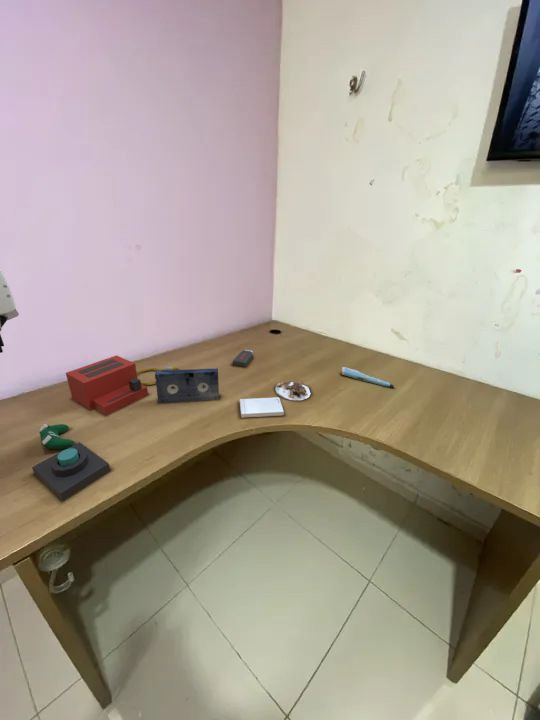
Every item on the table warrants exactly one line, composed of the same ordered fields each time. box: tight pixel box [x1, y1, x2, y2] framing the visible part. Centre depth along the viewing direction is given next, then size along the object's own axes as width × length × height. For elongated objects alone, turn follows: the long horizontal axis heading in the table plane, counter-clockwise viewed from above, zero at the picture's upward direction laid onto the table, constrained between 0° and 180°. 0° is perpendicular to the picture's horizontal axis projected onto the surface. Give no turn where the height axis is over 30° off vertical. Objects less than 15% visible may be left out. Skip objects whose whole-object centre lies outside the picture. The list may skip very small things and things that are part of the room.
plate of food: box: [274, 381, 311, 401], centre depth 102 cm, size 12×12×4 cm
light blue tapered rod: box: [341, 366, 395, 388], centre depth 112 cm, size 19×3×3 cm, turn 61°
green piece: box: [38, 423, 75, 450], centre depth 76 cm, size 9×4×6 cm
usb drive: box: [232, 349, 254, 369], centre depth 123 cm, size 5×12×3 cm, turn 166°
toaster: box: [65, 355, 149, 417], centre depth 94 cm, size 16×16×9 cm
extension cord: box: [136, 365, 178, 387], centre depth 108 cm, size 12×16×2 cm
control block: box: [31, 441, 111, 502], centre depth 67 cm, size 12×10×4 cm
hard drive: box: [239, 396, 285, 419], centre depth 93 cm, size 2×8×12 cm
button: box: [57, 448, 79, 466], centre depth 66 cm, size 4×4×2 cm
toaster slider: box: [129, 377, 142, 391], centre depth 94 cm, size 2×2×3 cm
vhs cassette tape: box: [154, 368, 220, 404], centre depth 94 cm, size 18×3×10 cm, turn 99°
